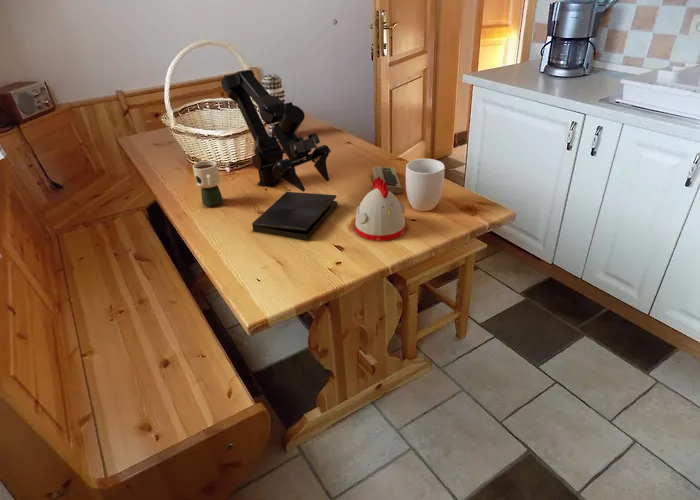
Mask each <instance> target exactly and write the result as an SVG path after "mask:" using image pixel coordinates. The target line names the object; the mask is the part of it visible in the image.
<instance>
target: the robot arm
mask: <svg viewBox="0 0 700 500" xmlns="http://www.w3.org/2000/svg"><path fill="white" fill-rule="evenodd" d="M220 82H221V83H220V85H221V88H222V89H223V91H224V92H225V94H226V95H227V97H228V98H229V99H230V100H231V101H233V102H234V103H236V105H237V107H238V109H239V111H240V113H241V115H242V117H243V119H244V121H245V124H246V126H247V128H248V130H249V132H250V135H251V137H252V138H253V141H254V146H253V147H254V149H253V152H254V155H253V157H252V160H251V162H252V166H253V167H254V168H255V169H256V170H257V172H258V177H259V182H257V185H258V186H262V187H270V188H275V187H277V186H278V185H279V184H280V183H281V182H282V181H283V180H284V181H285V182H287V183H289V184H291V185H292V186H294V187H295V188H297V189H298V190H300V191H301V192H302V193H305V191H306V188H305V186H304V184H303V182H302V180H300V177H299V176H298V174H297V172H296V171H297V170H296V167H299V166H301V165H304V164H306V163H308V162H309V163H310V162H312V163H314V164H313V167H314V168H315V170H316V171H317V172H318V173H319V175H320V176H321V177H322V178H323V179H324V181H326V182H329V181H330V178H329V171H328V166H327V159H328V157H329V156H330V153H331V152H332V151H331V149H330V147H329V146H328V145H326V144H322V145H320V146H318V144H320V142H321V140H320V137H319V135H318V134H317V133H316V132H313V133H310V134H308V135H307V138H306V139H304V138H303V136H299V135H298V134H297V131H298V130H299V128H300V127H301V125H302V123H303V122H304V120H305V117H306V116H305V112H304V110H303V109H302V108H301V107H299V106H297V105H294V104H293V102H292V101H288V102H282V101H281V100H280V99H279V98H277V97H274V96H271V95H270V94H269V93H268V92H267V90H266V89H265V88H264V87H263V85H262V82H260V81H259V80H258V78H257V77H256V76H255V74H254V72H253V70H252V69H244V70H238V71H237V72H235V73H229V74H225V75H223V78H222V79H221V80H220ZM254 103H255V104H256V105H257V107H258V108H259V113H258V110H257V108H256V106H255V104H254ZM263 122H264V123H263ZM277 122H279V123H277ZM273 123H277V124H276V125H275V127H272V133H271V134H272V137H271V136H269V135H268V131H267V129H266V127H265V125H264V124H266V126H267V125H268V124H273ZM275 136H276V137H275ZM276 138H277V139H276ZM277 140H278V141H277ZM312 149H314V150H313V151H312ZM284 154H285V155H286V156H287V158H284ZM283 158H284V159H283Z"/></svg>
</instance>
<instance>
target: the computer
mask: <svg viewBox="0 0 700 500" xmlns="http://www.w3.org/2000/svg"><path fill="white" fill-rule="evenodd" d="M371 175H372V181H374V179H377V178H378V177H380V178H381V179H383V183H386V189H389V191H390V192H391V193H393V194H402V191H403V187H402V185H401V183H400V179H399V176H398V174H397V171H396V168H395V167H391V166H389V167H388V166H373V167H372V170H371Z"/></svg>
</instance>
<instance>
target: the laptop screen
mask: <svg viewBox="0 0 700 500" xmlns="http://www.w3.org/2000/svg"><path fill="white" fill-rule="evenodd" d="M336 198H337V195H336V194H327V193H311V192H310V193H309V192H296V191H295V192H294V191H285V193H284V194H283V195H281V196H280V197H279V198H278V199H277V200H276V201H275V202H273V204H271V206H269V207H268V208H267V209H266V210H265V211H264V212H263V213H261V215H259V216H258V217H257V218H256V219H255V220H254V221H252V223H251V225H252V226H263V227H273V228H283V229H293V230H303V231H307V230H308V229H309V227H310V226H311V225H312V224H313V223H314V222H315V221H316V220H317V218H318V217H319V216H320V215H321V214H322V213H323V212H324V211H325V209H326V208H327V207H328V206H329V205H330V204H331V203H332V202H333V201H335V200H336ZM252 226H251V227H252Z"/></svg>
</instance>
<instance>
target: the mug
mask: <svg viewBox="0 0 700 500" xmlns="http://www.w3.org/2000/svg"><path fill="white" fill-rule="evenodd" d="M445 170H446V167H445V164H444V163H443V162H442V161H440V160H437V159H433V158H416V159H413V160H412V159H411V160H410V161H408V162H407V163H406V165H405V191H406V197H407V200H408V202H409V205H410V206H411V207H412V209H414V210H415V211H420V212H429V211H430V212H431V211H432V210H433V209H435V208H436V207H437V205H438V204H439V202H440V199H441V197H442V192H443V189H444V182H445Z"/></svg>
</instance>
